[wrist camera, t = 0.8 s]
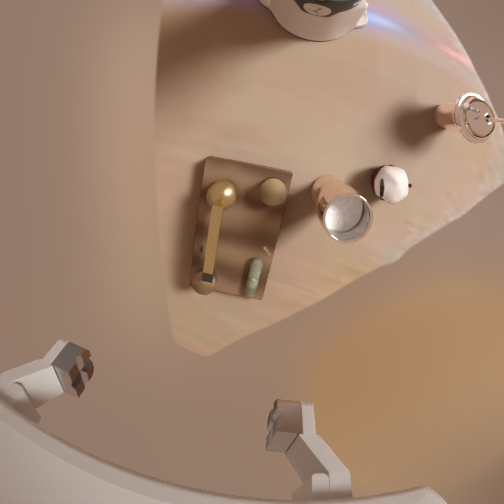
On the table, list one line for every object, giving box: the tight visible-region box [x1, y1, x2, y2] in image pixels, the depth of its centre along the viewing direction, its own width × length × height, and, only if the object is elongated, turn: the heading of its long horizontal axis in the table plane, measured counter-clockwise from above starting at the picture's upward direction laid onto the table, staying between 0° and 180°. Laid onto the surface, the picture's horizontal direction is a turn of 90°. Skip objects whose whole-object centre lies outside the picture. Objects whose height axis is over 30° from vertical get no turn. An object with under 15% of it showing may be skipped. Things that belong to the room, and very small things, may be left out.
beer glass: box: [311, 175, 373, 243], centre depth 40 cm, size 7×7×15 cm
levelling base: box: [190, 156, 292, 300], centre depth 48 cm, size 24×14×6 cm, turn 169°
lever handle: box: [202, 179, 238, 283], centre depth 45 cm, size 16×4×5 cm, turn 169°
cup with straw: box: [435, 92, 504, 144], centre depth 29 cm, size 8×9×20 cm
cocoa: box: [371, 165, 412, 204], centre depth 40 cm, size 10×6×12 cm, turn 66°
